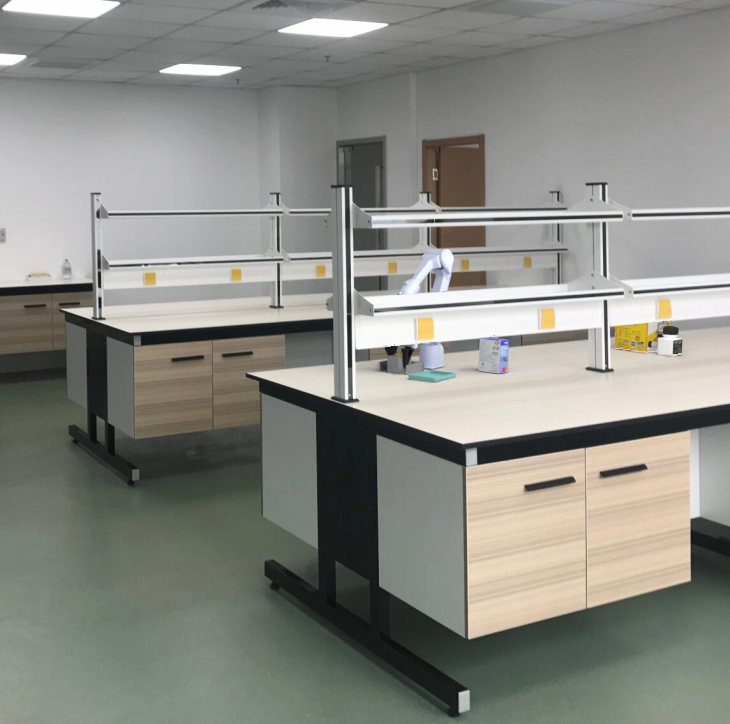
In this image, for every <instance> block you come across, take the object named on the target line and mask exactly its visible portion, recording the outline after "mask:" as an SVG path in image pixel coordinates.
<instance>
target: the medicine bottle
mask: <svg viewBox="0 0 730 724" xmlns="http://www.w3.org/2000/svg"><path fill="white" fill-rule="evenodd" d="M679 330H680V329H679V327H678V326H676V325H675V326H674V325H671V326H665V327H663V337H662V338H658V349H657V352H656V354H657V353H661V354H678V353H682V354H683V338H682V337H679Z"/></svg>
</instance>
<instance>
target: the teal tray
mask: <svg viewBox="0 0 730 724" xmlns="http://www.w3.org/2000/svg"><path fill="white" fill-rule="evenodd" d="M454 378H457V372H450V371H445V370H436V369H428V370H424V371H423V372H419V373H415V374H411V375H408V380H414V381H419V382H426V383H428V382H429V383H438V382H442V381H446V380H450V379H454Z"/></svg>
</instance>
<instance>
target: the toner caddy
mask: <svg viewBox="0 0 730 724" xmlns="http://www.w3.org/2000/svg"><path fill="white" fill-rule="evenodd" d="M386 357H387V359H386V360H387V370H386V373H389V374H396V375H397V374H398V375H400V374H404V373H405V374H406V368H403V355H402V353H399V352H398V353H397V352H396V353H395V355H390V356H388V355H387V356H386ZM411 361H412V357H411V358H410V361H409V364H411Z"/></svg>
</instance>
